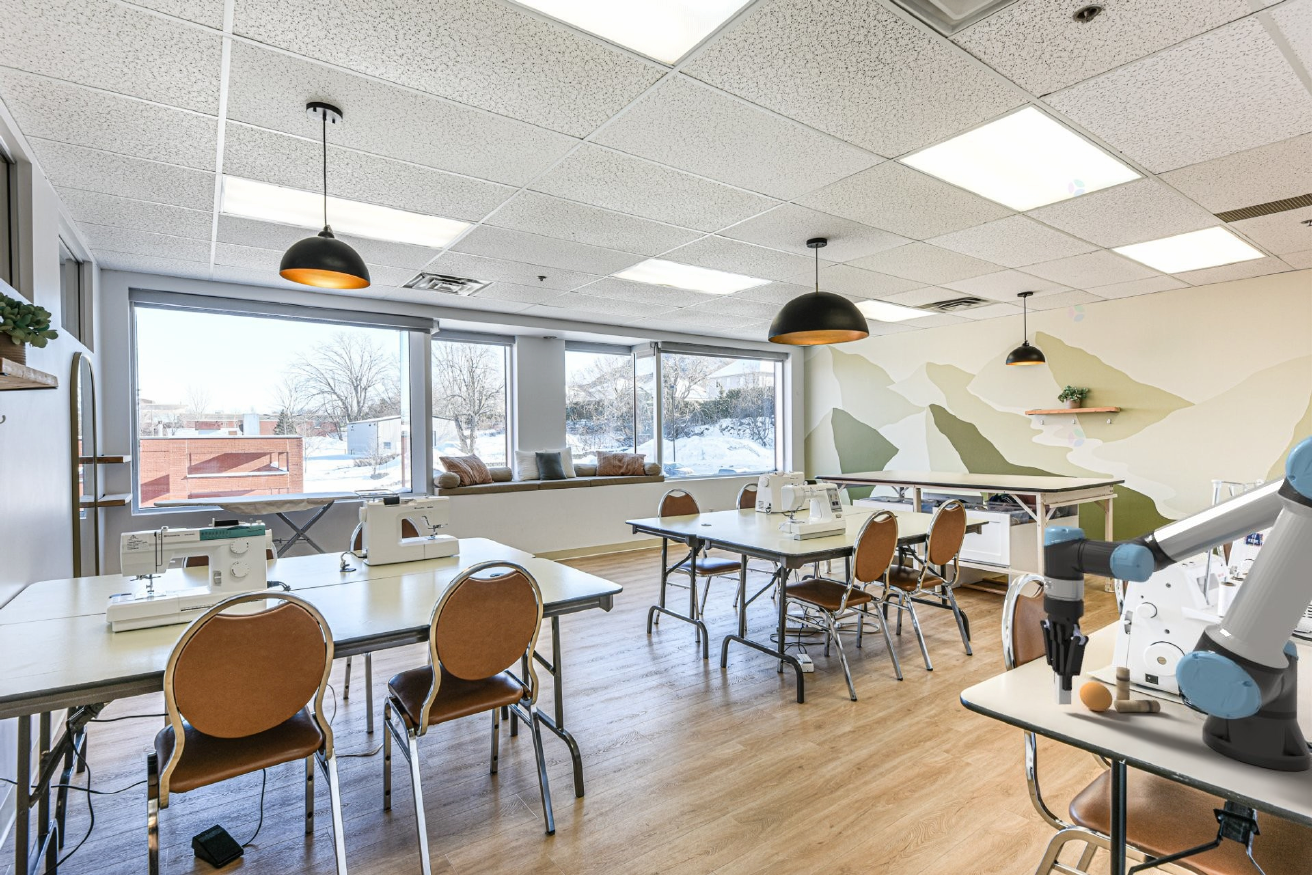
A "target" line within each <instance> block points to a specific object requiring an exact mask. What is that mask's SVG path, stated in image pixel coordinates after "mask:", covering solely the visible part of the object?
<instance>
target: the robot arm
mask: <svg viewBox="0 0 1312 875" xmlns="http://www.w3.org/2000/svg"><path fill="white" fill-rule="evenodd" d="M1284 468H1285V474H1283V475H1281V476H1278V477H1276V478H1272V479H1270V480H1268V481H1266V482H1264V483H1261V484H1259V485H1257V486H1254V487H1252V488H1250V489H1247V490H1246V491H1243V492H1240V493H1238V494H1235V495H1233V496H1231V497H1229V498H1227V499H1224V500H1222V501H1219V502H1217V503H1215V504H1213V505H1210V506H1208V507H1205V508H1203V509H1201V510H1198V511H1196V512H1193V513H1191V514H1188V515H1186V516H1185V517H1182V518H1180V519H1177V520H1175V521H1172V522H1170V523H1168V524H1165V525H1163V526H1161V527H1158V528H1156V529H1155V530H1154V529H1153V530H1152V531H1149V532H1147V533H1146V532H1145V533H1144V534H1141V535H1139V536H1136V537H1134V538H1128V539H1124V540H1123V539H1122V540H1116V541H1109V540H1099V539H1091V538H1086V535H1085V531H1084V529H1083V528H1080V527H1076V526H1068V525H1050V526H1047V527H1046V528H1045V529H1044V536H1043V537H1044V538H1043V544H1042V547H1043V593H1045V595H1044V596H1043V606H1042V607H1043V612H1044V613H1046V614H1047V618H1046V619H1045V620H1043V619H1040V620H1039V625H1040V628H1041V631H1042V636H1043V643H1044V652H1045V657H1046V658H1045V660H1046V664H1047V666H1051V668H1052V671H1053V673H1054V674H1053V676H1054V677H1053V679H1054V680H1053V683H1054V702H1055V703H1056V704H1058V705H1072V690H1073V677H1074V676H1075V677H1079V676H1081V671H1082V667H1083V661H1084V656H1085V651H1086V647H1087V644H1088V642H1089V640H1090V638H1089V636H1088V635H1083V633H1082V632H1081V625H1080V621H1079V620H1080V619H1081V618H1082V617H1083V616H1084V615H1085V601H1084V600H1083V598H1084V597H1085V575H1093V576H1098V577H1103V578H1109V579H1113V580H1114V579H1115V580H1120V581H1123V582H1127V583H1128V582H1135V583H1145V582H1147V581H1148V580H1149V579H1150V578H1151V577H1152V575H1153V573H1156V572H1159V571H1163V570H1165V569H1166V568H1168V567H1170V566H1172V565H1175V564H1177V563H1179V562H1182V561H1185V560H1187V559H1190V558H1192V557H1195V556H1198V555H1200V554H1204V553H1205V552H1208V551H1211V550H1215V549H1216V548H1219V547H1222V546H1224V545H1226V544H1230V543H1232V542H1234V541H1237V540H1240V539H1244V538H1246V537H1247V536H1248V537H1249V536H1251V535H1254V534H1256V533H1260V532H1261V531H1264V530H1267V529H1269V528H1271V529H1270V531H1269V533H1268V534H1267V536H1266V539H1265V540H1264V542H1263V544H1262V545H1261V548H1260V550H1259V552H1258V553H1257V554H1256V556H1255V559H1254V561H1253V563H1252V564H1251V566H1250V568H1249V570H1248V571H1247V573H1246V575H1245V578H1244V579H1243V581H1242V583H1241V585H1240V587H1239V589H1238V590H1237V591H1236V594H1235V595H1234V598H1233V600H1232V601H1231V603H1230V605H1229V606H1228V609H1227V610H1226V612H1225V614H1224V616H1223V618H1222V620H1221V621H1220V623H1215V624H1211V625H1207V626H1206V627H1204V629H1203V631H1202V633H1201V635H1200V637H1199V639H1198V641H1197V642H1196V644H1195V646H1194V648H1193V650H1192V651H1191V652H1188V653H1187V654H1185V655H1183V657H1182V658H1180V660H1179V661H1178V663H1177V665H1176V668H1175V678H1176V682H1177V685H1178V686H1179V689H1180V690H1181V691H1182V692H1181V693H1182V694H1183V695H1184V696H1185V697H1186V699H1188V701H1189V702H1190V703H1191V704H1193V705H1194V706H1195V707H1197V708H1198V709H1200V710H1201V711H1203V712H1205V713H1207V714H1208V715H1207V717H1206V720H1205V721H1204V723H1203V726H1202V730H1201V731H1202V732H1201V733H1202V741H1203V742H1204V744H1205V745H1207V746H1208V747H1210V748H1211V749H1213V750H1215V751H1216V752H1218V753H1221V754H1222V755H1225V756H1227V757H1228V758H1232V759H1235V760H1237V761H1240V762H1244V763H1247V764H1250V765H1254V766H1258V767H1262V768H1267V769H1271V770H1276V771H1277V770H1278V771H1287V772H1300V771H1306V770H1309V767H1310V768H1311V766H1310V765H1311V751H1310V748H1309V747H1308V744H1307V741H1306V739H1305V737H1304V735H1303V732H1302V729H1301V727H1300V725H1299V722H1298V661H1299V656H1298V649H1297V648H1298V647H1297V645H1296V644H1295V642H1293V641H1292V640H1291V637H1292V635H1293V633H1294V631H1296V628H1297V626H1299V623H1300V621H1301V620H1302V618H1303V616H1304V615H1305V613H1306V611H1307V610H1308V608H1309V606H1310V604H1311V602H1312V435H1309V436H1308V437H1306V438H1304V439H1302V440H1300V441H1299V442H1297V443H1296V445H1295V446H1294V447H1293V448H1292V449H1291V450H1290V451H1289V453H1288V455H1287V458H1286V460H1285V466H1284Z"/></svg>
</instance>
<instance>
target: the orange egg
mask: <svg viewBox="0 0 1312 875" xmlns="http://www.w3.org/2000/svg"><path fill="white" fill-rule="evenodd" d="M1079 698H1080V700H1081V702H1082V703H1083V704H1084V706H1085V707H1087V708H1089V709H1090V710H1092V711H1095V712H1104V711H1106V710H1108V709H1110V708H1111V706H1112V704H1113V696H1112V692H1110V690H1109V689H1108V688H1107V687H1106V686H1105V685H1103V684H1102V683H1099V682H1097V681H1095V682H1093V681H1090V682H1086V683H1084V684H1083V685H1082V686H1081V687H1080V689H1079Z"/></svg>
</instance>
